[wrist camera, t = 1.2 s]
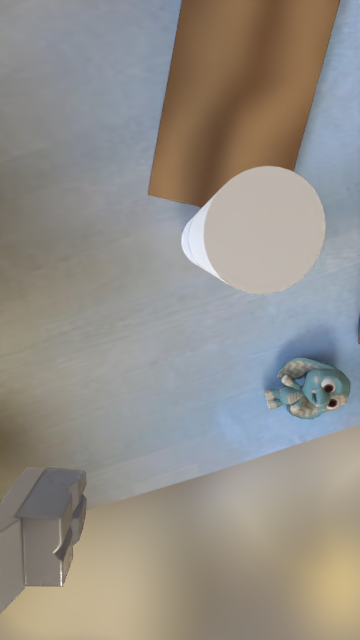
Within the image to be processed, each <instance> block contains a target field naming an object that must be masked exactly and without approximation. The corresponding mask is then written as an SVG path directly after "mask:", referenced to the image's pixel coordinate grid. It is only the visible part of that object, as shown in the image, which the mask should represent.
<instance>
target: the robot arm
mask: <svg viewBox="0 0 360 640" xmlns="http://www.w3.org/2000/svg"><path fill="white" fill-rule="evenodd" d="M85 486H86V472H85V471H84V470H71V469H57V468H40V467H28V468H26V469H24V470H23V472H22V473H21V474H20V476H19V477H18V478H17V480H16V481H15V483H14V484H13V485H12V487H11V488H10V490H9V491H8V492H7V494H6V495H5V496H4V498H3V499H2V501H1V502H0V614H1V613H2V612H3V610H5V608H6V607H7V606H8V605H9V604H10V603H11V602H12V601H13V600H14V599H15V598H16V597H17V596H18V595H19V594H20V593H21V592H22V591H23V590H24V586H63V585H64V582H65V579H66V576H67V573H68V571H69V568H70V565H71V562H72V559H73V545H74V544H76V543H77V542H78V541H79V539H80V536H81V533H82V529H83V525H84V520H85V515H86V498H85V496H84V495H83V491H84V489H85Z"/></svg>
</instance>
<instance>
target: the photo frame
mask: <svg viewBox="0 0 360 640" xmlns="http://www.w3.org/2000/svg"><path fill="white" fill-rule="evenodd" d="M358 344H360V320H359V337H358Z"/></svg>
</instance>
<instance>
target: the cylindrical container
mask: <svg viewBox="0 0 360 640" xmlns="http://www.w3.org/2000/svg"><path fill="white" fill-rule="evenodd" d="M325 232H326V221H325V215H324V209H323V206H322V204H321V201H320V199H319V196H318V195H317V193H316V192H315V190H314V189H313V187H312V186H311V185H310V184H309V183H308V182H307V181H306V180H305V179H304V178H303V177H301V176H300V175H298V174H296V173H294V172H293V171H291V170H288V169H284V168H281V167H275V166H263V167H255V168H252V169H249V170H246V171H243V172H242V173H240V174H238V175H237V176H235V177H233V178H232V179H230V180H229V181H228V182H227V183H226V184H225V185H224V186H223V187H222V188H221V189H220V190H219V191H218V192H217V193H216V194H215V195H214V196H213V197H212V198H211V199H210V200H209V201H208V202H207V203H206V204H205V205H204V206H203V207H202V208H201V209H200V210H199V211H198V212H197V213H196V214H195V216H194V217H193V218H192V219H191V220H190V221H189V222H188V223H187V224H186V226H185V228H184V230H183V233H182V239H181V242H182V248H183V251H184V253H185V255H186V256H187V257H188V259H189V260H190V261H192V262H193V263H195V264H196V265H198V266H199V267H201V268H203V269H204V270H206V271H207V272H209V273H211V274H213V275H214V276H216V277H217V278H219V279H220V280H222V281H224V282H225V283H227V284H228V285H230V286H232V287H234V288H236V289H238V290H240V291H243V292H247V293H251V294H271V293H276V292H279V291H282V290H285V289H287V288H288V287H290V286H292V285H294V284H296V283H297V282H298V281H299V280H300V279H302V278H303V277H304V276H305V275H306V274H307V273H308V272H309V270H310V269H311V268H312V267H313V266H314V264H315V262H316V260H317V258H318V257H319V255H320V252H321V249H322V246H323V244H324V238H325Z"/></svg>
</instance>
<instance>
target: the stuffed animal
mask: <svg viewBox="0 0 360 640" xmlns="http://www.w3.org/2000/svg"><path fill="white" fill-rule="evenodd" d="M306 374H307V376H306V379H305V383H304V385H303V386H302V387H300V385H299V384H297V383H296V382H295V381H294V379H300V378H302V377H303V376H304V375H306ZM277 377H278V378H281V379H282V383H284V384H285V385H287V386H284V387H282V388H280V390H275V389H268V390H266V391H265V393H264V395H265V398H266V399H267V400H268V401H267V405H268V407H269V408H270V409H275V408H278V407H279V406H281V405H282V404H286V405H288V406H287V411H288V412H289V413H290V414H291V415H294V416H296V417H298V418H301V419H314V418H316V417H318V416H320V415H321V414H322V413H323V412H324V411H327V410H335V409H337V408H338V407H340V406H342V405H344V404H345V403H346V402H347V399H348V396H349V393H350V381H349V379H348V378H347V377H346V375H345V374H344V373H343V372H342V371H340V370H339V369H337V368H336V367H334V366H332V365H330V364H328V363H324V362H320V361H314V360H310V359H306V358H294V359H292V360H290V361H289V362H287V363H286V364H285V365H284V366H283V367H282V368H281V370H280V371H279V372H278V375H277ZM277 397H280V399H275V398H277Z"/></svg>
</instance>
